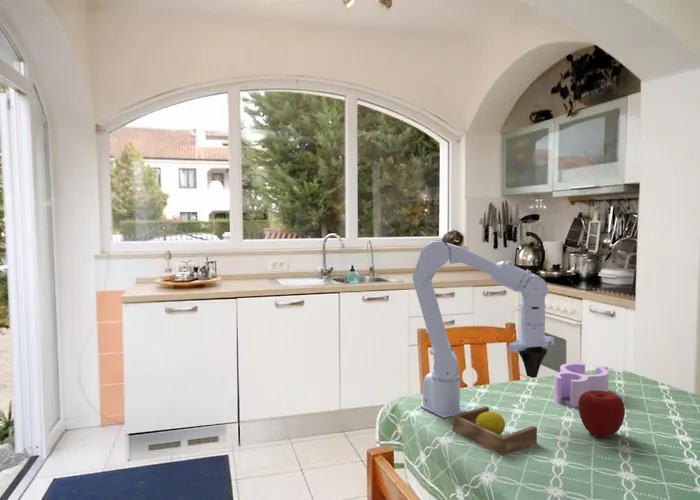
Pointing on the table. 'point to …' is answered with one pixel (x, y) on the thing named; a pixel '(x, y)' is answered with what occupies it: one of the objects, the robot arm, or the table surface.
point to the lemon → (491, 422)
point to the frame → (492, 433)
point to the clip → (578, 382)
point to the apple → (601, 412)
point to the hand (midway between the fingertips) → (531, 376)
